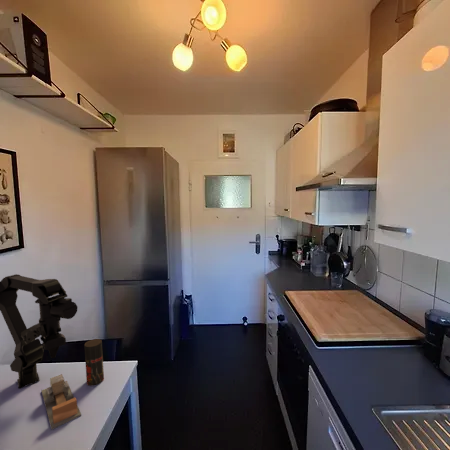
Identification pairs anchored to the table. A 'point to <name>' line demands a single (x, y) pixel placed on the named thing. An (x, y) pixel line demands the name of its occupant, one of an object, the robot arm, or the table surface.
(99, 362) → the deodorant
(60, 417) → the rail
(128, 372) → the table surface
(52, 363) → the table surface
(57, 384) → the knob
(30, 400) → the table surface
